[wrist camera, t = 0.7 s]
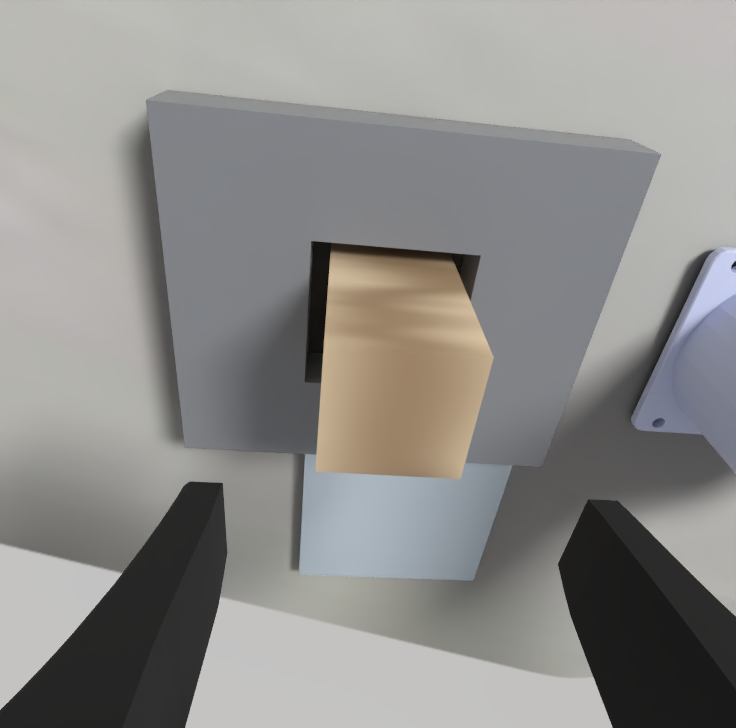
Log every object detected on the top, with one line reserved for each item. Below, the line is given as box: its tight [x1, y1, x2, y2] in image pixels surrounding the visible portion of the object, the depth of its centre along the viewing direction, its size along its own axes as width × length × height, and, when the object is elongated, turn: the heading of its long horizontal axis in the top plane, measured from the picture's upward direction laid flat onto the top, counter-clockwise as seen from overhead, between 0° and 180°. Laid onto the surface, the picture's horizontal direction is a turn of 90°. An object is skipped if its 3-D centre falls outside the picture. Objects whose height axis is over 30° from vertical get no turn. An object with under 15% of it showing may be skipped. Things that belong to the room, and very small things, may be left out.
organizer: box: [146, 90, 661, 467], centre depth 19 cm, size 14×12×2 cm
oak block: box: [315, 243, 494, 479], centre depth 17 cm, size 4×4×7 cm
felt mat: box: [299, 454, 513, 581], centre depth 25 cm, size 9×9×1 cm
